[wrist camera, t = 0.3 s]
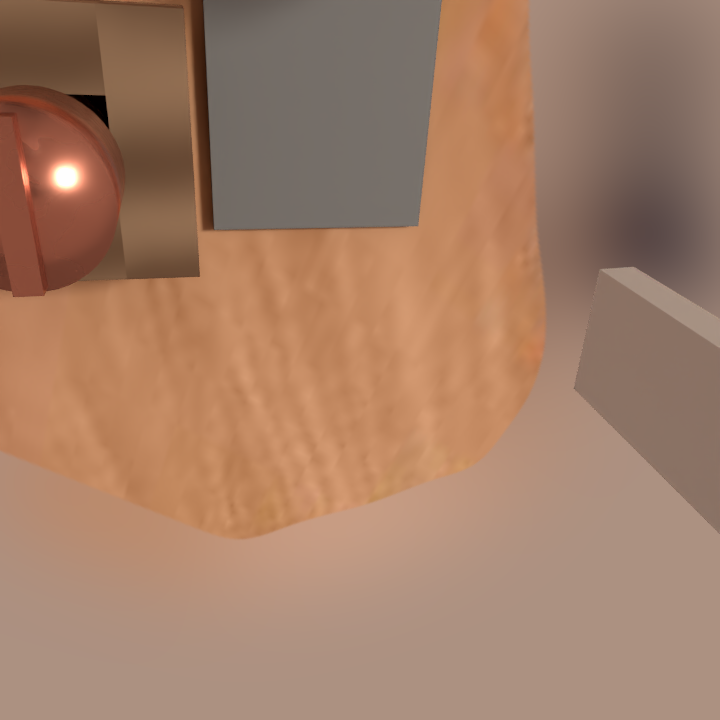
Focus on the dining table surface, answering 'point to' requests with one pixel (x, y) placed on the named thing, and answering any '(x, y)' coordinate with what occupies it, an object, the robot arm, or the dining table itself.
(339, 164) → the mat
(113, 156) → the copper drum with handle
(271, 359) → the dining table surface
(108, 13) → the eye block
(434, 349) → the dining table surface
